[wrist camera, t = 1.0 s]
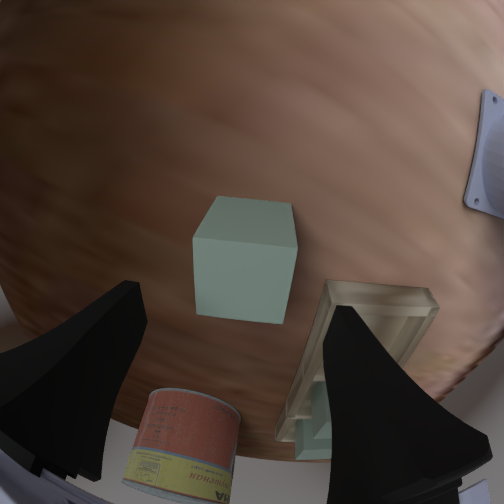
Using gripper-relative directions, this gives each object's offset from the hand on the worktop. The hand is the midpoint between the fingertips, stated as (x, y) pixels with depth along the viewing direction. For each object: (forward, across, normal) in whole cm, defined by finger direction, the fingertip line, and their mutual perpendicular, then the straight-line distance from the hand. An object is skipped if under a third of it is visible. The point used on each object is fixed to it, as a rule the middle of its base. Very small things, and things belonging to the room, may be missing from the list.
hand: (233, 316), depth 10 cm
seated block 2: (+6, -9, +21) cm, 24 cm away
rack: (+7, -9, +14) cm, 18 cm away
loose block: (+7, 0, 0) cm, 7 cm away
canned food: (+7, +5, +24) cm, 26 cm away
